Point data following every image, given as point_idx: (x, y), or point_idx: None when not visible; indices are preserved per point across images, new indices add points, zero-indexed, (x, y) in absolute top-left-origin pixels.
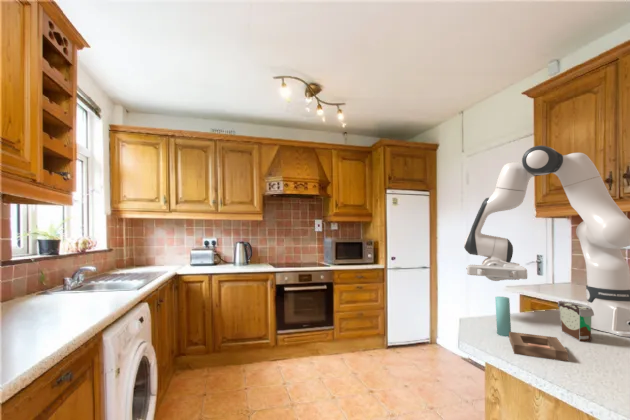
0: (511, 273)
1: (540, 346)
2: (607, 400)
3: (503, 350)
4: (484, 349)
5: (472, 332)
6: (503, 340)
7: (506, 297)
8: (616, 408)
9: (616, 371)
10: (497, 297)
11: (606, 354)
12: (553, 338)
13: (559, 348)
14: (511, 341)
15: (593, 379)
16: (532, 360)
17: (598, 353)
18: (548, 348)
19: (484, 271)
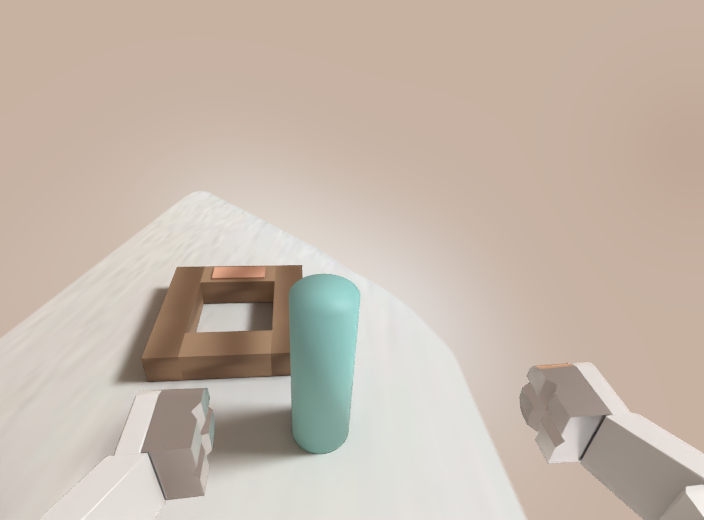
0: (184, 391)
1: (237, 268)
2: (197, 202)
3: None
4: (371, 283)
5: (438, 396)
6: None
7: (301, 307)
8: (197, 193)
9: (93, 278)
10: (349, 292)
11: (7, 372)
12: (160, 343)
13: (187, 277)
14: None
15: (176, 239)
16: None
17: (31, 370)
18: (219, 267)
19: (537, 366)
